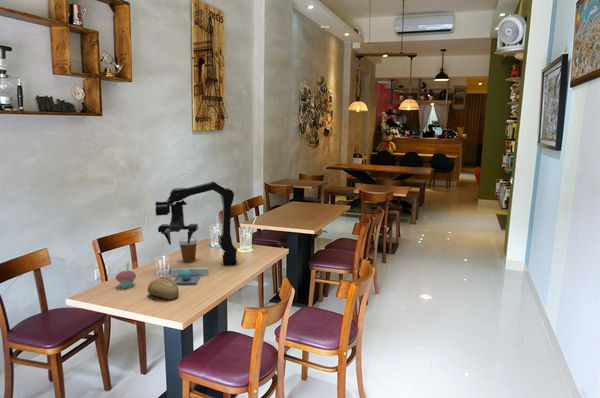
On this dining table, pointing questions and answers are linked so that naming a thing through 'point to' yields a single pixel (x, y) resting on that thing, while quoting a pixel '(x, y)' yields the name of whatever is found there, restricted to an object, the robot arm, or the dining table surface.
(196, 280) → the dish
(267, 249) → the dining table surface
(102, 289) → the dining table surface
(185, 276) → the ball
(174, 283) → the bread roll
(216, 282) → the dining table surface
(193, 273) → the wall
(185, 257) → the disposable coffee cup
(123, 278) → the cupcake
